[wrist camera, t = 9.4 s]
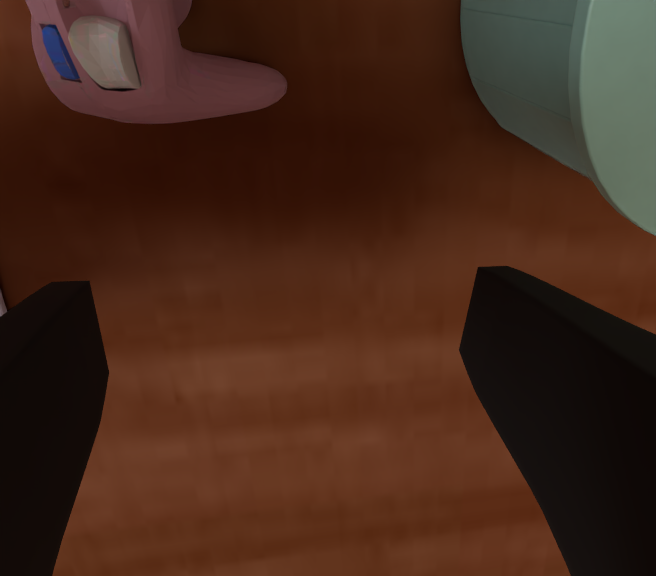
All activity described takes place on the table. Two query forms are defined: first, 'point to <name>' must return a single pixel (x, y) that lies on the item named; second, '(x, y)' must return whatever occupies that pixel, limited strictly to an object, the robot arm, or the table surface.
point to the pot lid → (616, 102)
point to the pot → (524, 70)
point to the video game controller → (140, 63)
